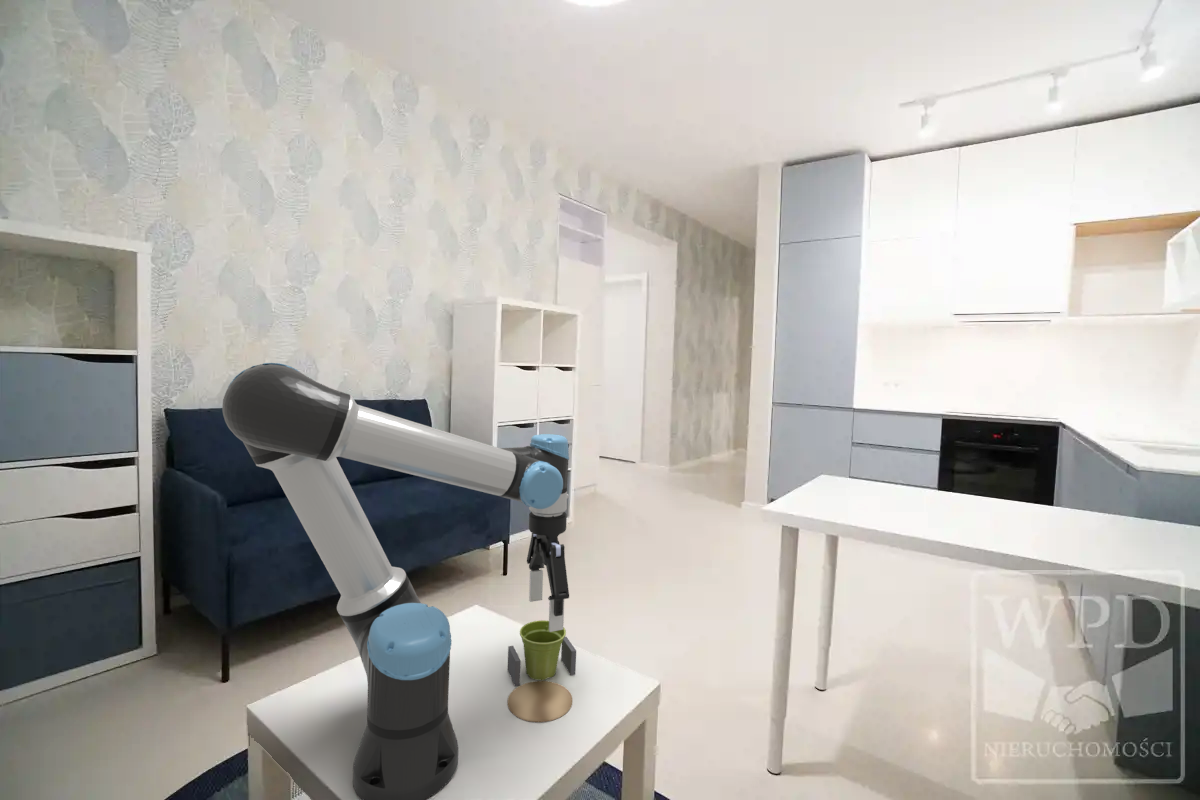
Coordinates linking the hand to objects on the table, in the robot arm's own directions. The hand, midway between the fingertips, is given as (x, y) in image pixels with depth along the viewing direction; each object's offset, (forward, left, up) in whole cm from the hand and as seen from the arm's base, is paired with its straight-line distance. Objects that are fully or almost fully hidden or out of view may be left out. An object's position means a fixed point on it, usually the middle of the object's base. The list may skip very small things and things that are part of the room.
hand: (545, 614), depth 108 cm
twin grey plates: (0, 0, -12) cm, 12 cm away
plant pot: (0, 0, -12) cm, 12 cm away
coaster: (-3, -9, -12) cm, 15 cm away
